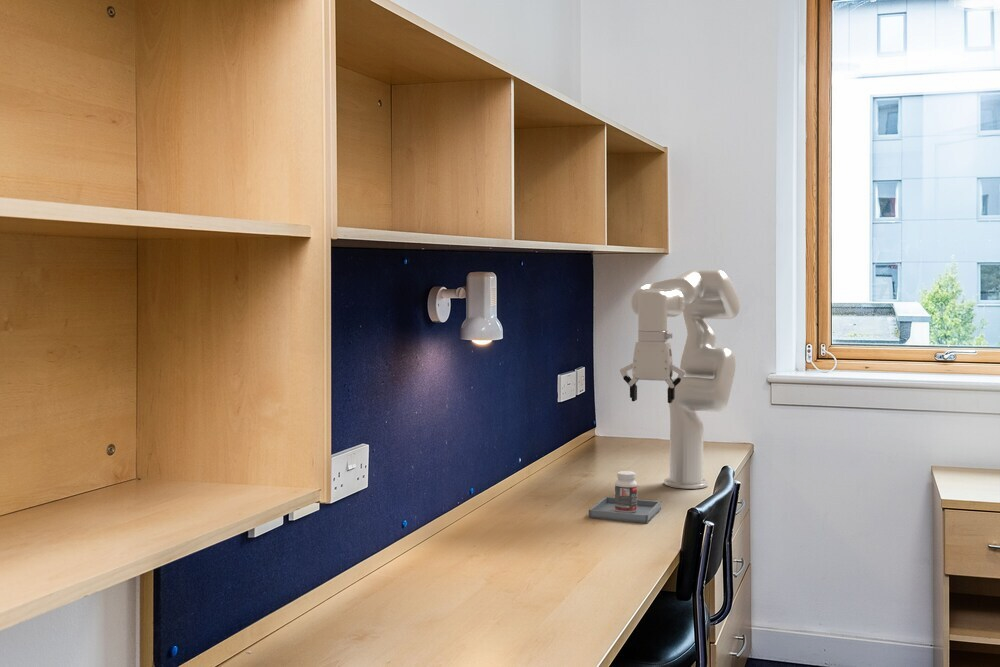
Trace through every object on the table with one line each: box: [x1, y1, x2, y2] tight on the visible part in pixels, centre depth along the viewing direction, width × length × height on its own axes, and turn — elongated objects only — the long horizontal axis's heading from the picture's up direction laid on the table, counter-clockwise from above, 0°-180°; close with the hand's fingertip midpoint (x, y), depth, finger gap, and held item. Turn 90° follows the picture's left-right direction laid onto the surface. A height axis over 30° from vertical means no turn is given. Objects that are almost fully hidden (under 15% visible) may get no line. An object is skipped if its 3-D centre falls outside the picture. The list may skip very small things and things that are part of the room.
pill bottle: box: [614, 470, 638, 513], centre depth 249 cm, size 6×6×10 cm
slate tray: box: [588, 496, 662, 524], centre depth 249 cm, size 16×15×2 cm
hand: (652, 401), depth 257 cm, fingers open, 9 cm apart
